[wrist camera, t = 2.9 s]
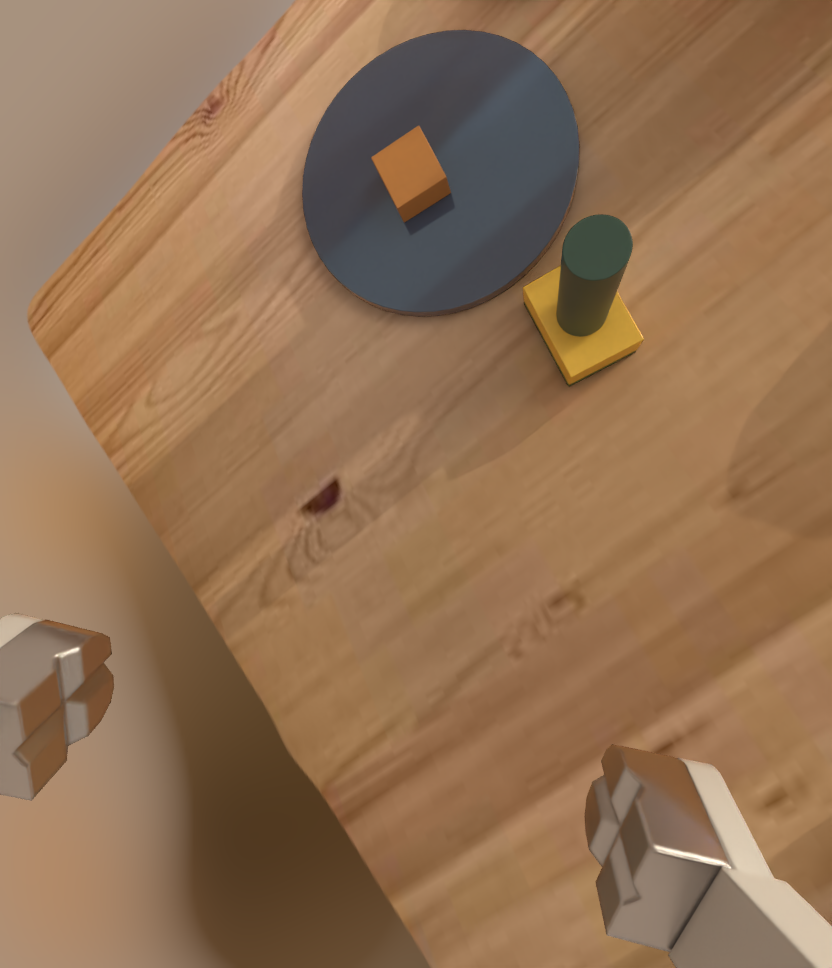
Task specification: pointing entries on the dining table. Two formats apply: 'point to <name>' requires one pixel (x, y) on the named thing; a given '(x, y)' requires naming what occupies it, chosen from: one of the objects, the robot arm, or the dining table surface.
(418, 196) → the orange block
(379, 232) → the plate
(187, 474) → the dining table surface
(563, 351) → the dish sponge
